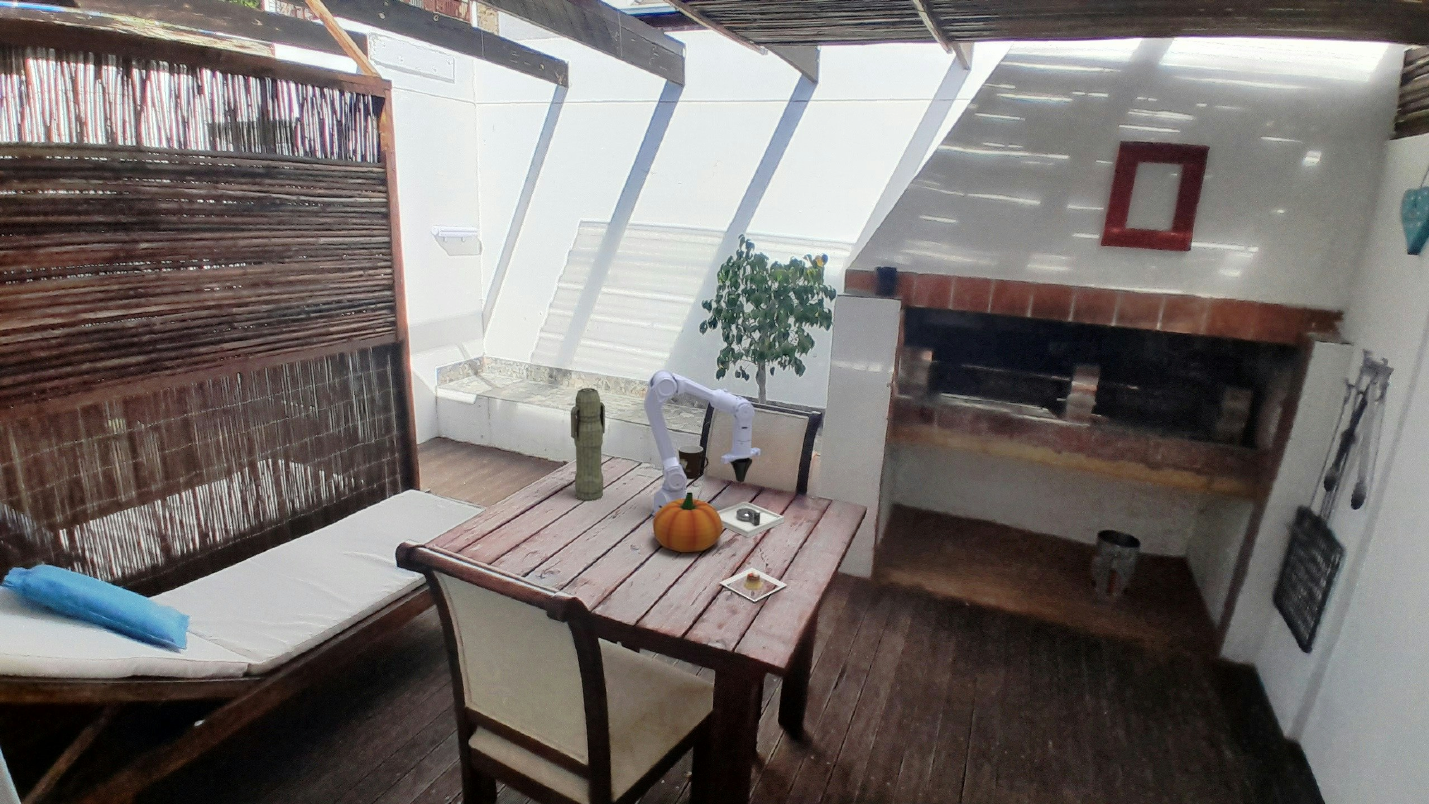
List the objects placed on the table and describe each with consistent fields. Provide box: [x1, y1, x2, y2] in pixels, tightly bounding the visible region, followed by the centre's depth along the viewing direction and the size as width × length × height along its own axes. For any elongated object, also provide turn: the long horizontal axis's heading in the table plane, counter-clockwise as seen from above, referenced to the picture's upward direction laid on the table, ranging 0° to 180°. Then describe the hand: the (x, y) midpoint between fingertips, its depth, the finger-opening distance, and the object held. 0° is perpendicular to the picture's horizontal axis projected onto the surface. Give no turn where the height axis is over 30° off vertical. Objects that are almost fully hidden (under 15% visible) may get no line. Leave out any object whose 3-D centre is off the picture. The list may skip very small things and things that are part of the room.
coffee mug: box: [677, 444, 709, 480], centre depth 248 cm, size 12×9×10 cm
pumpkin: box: [652, 492, 724, 553], centre depth 198 cm, size 19×19×15 cm
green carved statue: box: [570, 387, 606, 502], centre depth 226 cm, size 9×12×35 cm
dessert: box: [719, 567, 788, 602], centre depth 177 cm, size 12×12×5 cm
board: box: [716, 501, 785, 538], centre depth 215 cm, size 16×16×2 cm
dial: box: [736, 508, 760, 525], centre depth 212 cm, size 10×6×3 cm, turn 29°
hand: (740, 481), depth 219 cm, fingers closed
